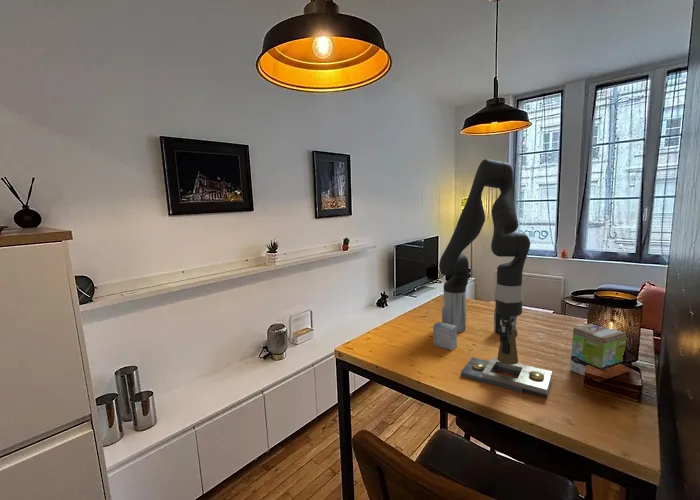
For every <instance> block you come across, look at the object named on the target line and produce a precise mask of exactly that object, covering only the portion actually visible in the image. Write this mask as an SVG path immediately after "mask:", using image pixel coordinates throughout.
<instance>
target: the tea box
mask: <svg viewBox="0 0 700 500" xmlns="http://www.w3.org/2000/svg"><path fill="white" fill-rule="evenodd" d="M626 340H627V337H626V333H625V332H622V331H617V330H613V329H609V328H605V327H601V326H597V325H593V324H591V323H588V324H584V325H580V326H576V327H573V332H572V340H571V341H572V342H571V344H572V345H571V352H570V364H569V365H570V366H569V370H571V371H573V372H574V373H577V374H579V375H581V376H583V375H584V372H585V368H586V365H590V366H593V367H595V368H597V369H600V370H604V369H607V368H610V367H612V366H615V365H618V364H622V363H623V355H624V351H625V346H626Z"/></svg>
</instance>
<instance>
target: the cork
mask: <svg viewBox="0 0 700 500" xmlns="http://www.w3.org/2000/svg"><path fill="white" fill-rule="evenodd" d="M510 332H511V330H510V331H509V333H510ZM517 337H518V329H517V327H516V328H515V327H513V335H512V336H511V342H510V354H504V353H502V342H500V341H499V346H498V353H497V358H496V359H497V360H498V361H499V362H501V363H504V364H509V365H513V364H517V363H518V364H519V357H518V349H517V342H516V341H517V340H516V338H517ZM504 338H506V337H504ZM506 339H507V338H506Z"/></svg>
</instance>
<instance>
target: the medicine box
mask: <svg viewBox="0 0 700 500" xmlns="http://www.w3.org/2000/svg"><path fill="white" fill-rule="evenodd" d="M432 327H433V328H432V329H433V346H436V347H438V348H439V347H440V348H443V349H446V350H450V351H453V350H454V349H455V348H456V347H458V332H457V326H455V325H451V324H447V323H443V322H442V321H438V322H436V323H434V324H433V325H432Z"/></svg>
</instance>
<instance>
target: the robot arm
mask: <svg viewBox="0 0 700 500" xmlns="http://www.w3.org/2000/svg"><path fill="white" fill-rule="evenodd" d="M476 169H477V170H476V173H475V174H474V175H475V176H474V178H473V182H472V185H471V188H470V192H469V195H468V197H467V200H466V201H465V204H464V207H463V208H462V211H461V214H460V215H459V218H458V221H457V223H456V226H455V228H454V231H453V233H452V236H451V238H450V241H449V242H448V244H447V245H446V248H445V250H444V252H443V253H442V255H441V258H440V259H439V262H438V263H439V264H438V267H439V272H440V273H441V275H443V276H445V277H450V278H449V280H447V281H446V282H444V283H443V306H442V307H441V322H443V323H447V324H451V325H455V326H457V333H460V332H464V331H466V329H467V328H466V327H467V326H466V320H467V319H466V318H467V317H466V316H467V311H466V310H467V308H466V307H467V306H466V304H467V301H466V300H467V285H468V284H469V283H468V282H469V281H468V280H469V269H470V268H469V266H470V265H469V260H468V257H467V256H466V254H464V253H463V251H464V250H466V249H467V247H468V246H470V245H471V243H473V242H474V241H475V240H476V239H477V237H478V236H479V235H480V233H481V231H482V229H483V227H484V224H485V222H486V212H485V210H484V206H483V201H482V200H483V199H482V195H483V190H484V188H485V187H488V188H493V189H499V191H500V194H499V196H497V199H496V200H495V201H494V202H493V205H492V207H491V219H492V224H493V235H492V238H491V244H490V249H491V252H492V253H493V254H494V255H495V256H496V257H500V258H501V257H503V258H505V257H507V258H508V257H513V259H512V260H511V261H509V262H505V263H500V264H499V265H498V266H497V267H496V287H495V308H494V310H496V312H497V313H498V314H501V315H502V316H503V317H502V319H500V324H501V325H500V326H499V334H498V335H499V343H500V342H502V353H504V354H510V342H511V336H512V335H513V327H515V328H516V329H517V319H518V318H517V317H518V316H521V315H522V313H523V300H524V299H523V295H524V293H523V292H524V290H523V271H524V267H525V262H526V259H527V257H528V254H529V251H530V248H531V239H530V238H529V236H528V235H527V234H526V233H524V232H516V230H518V228H519V221H518V216H517V212H516V207H515V200H514V197H515V196H514V195H515V194H514V191H515V190H514V170H513V167H512V165H511V164H510V163H508V162H506V161H501V160H493V159H487V158H485V159H483V160H481V162H480V164H479V165H478V167H477V168H476ZM510 330H511V332H510V333H509V331H510ZM504 337H506V338H507V339H506V338H504Z"/></svg>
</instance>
